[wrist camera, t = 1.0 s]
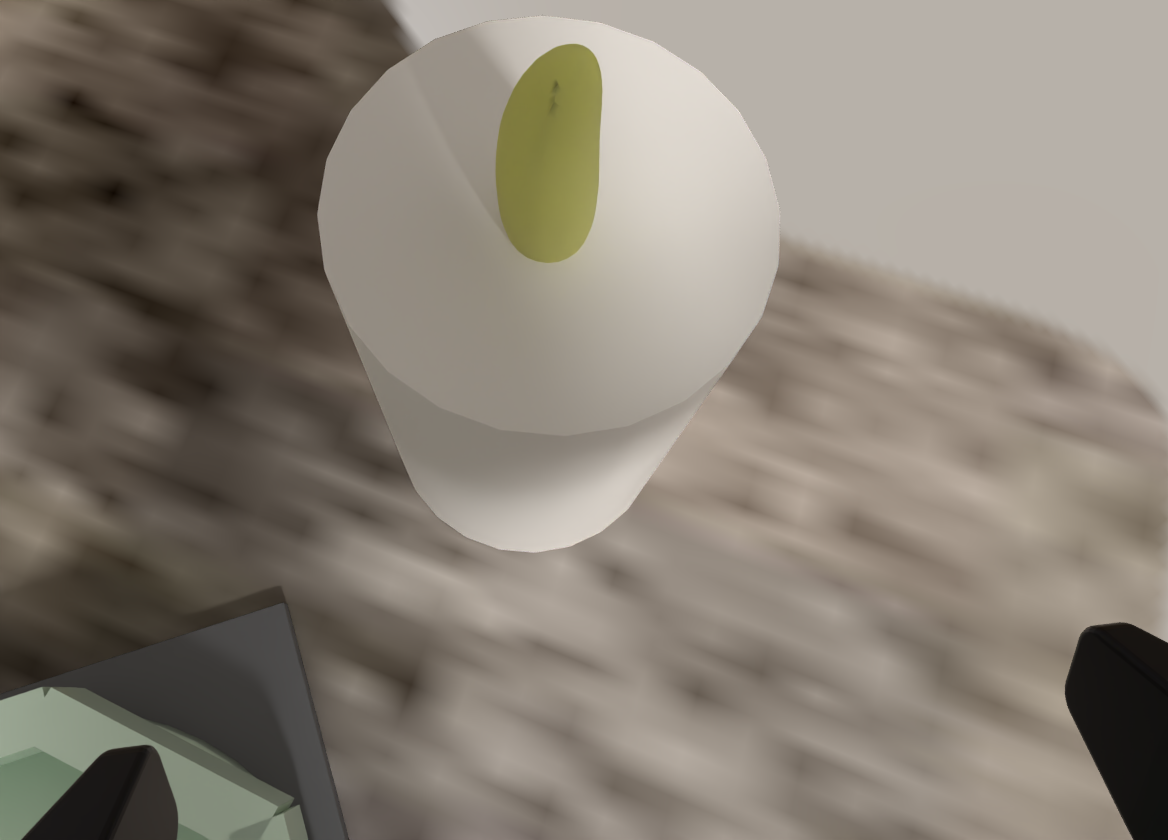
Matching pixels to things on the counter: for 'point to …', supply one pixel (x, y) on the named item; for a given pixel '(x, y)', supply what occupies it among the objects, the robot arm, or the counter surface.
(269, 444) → the counter surface
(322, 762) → the mat
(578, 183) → the candle
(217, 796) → the dish
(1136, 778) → the robot arm
